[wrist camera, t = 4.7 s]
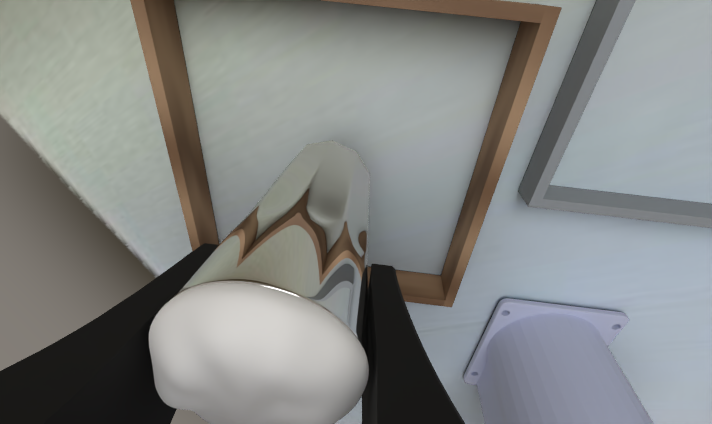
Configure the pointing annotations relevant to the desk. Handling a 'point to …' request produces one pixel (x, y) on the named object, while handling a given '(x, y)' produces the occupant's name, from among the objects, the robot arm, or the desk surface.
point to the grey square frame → (563, 122)
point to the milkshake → (277, 305)
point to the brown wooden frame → (529, 48)
